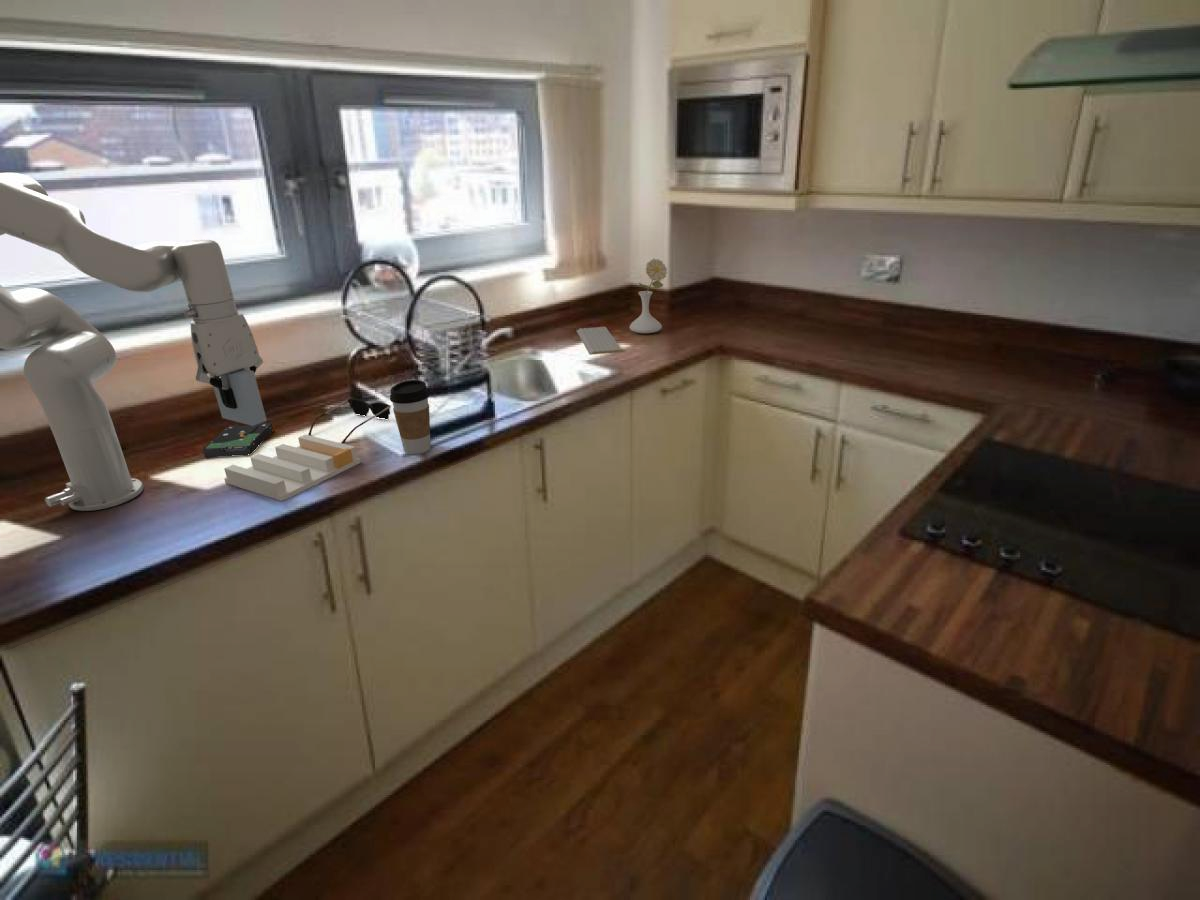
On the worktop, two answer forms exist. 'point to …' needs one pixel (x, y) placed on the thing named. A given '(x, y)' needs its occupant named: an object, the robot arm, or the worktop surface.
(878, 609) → the worktop surface
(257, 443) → the disk drive
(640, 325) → the flower in vase
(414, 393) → the coffee cup
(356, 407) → the sunglasses
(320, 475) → the rack
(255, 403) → the panel
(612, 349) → the baseboard
